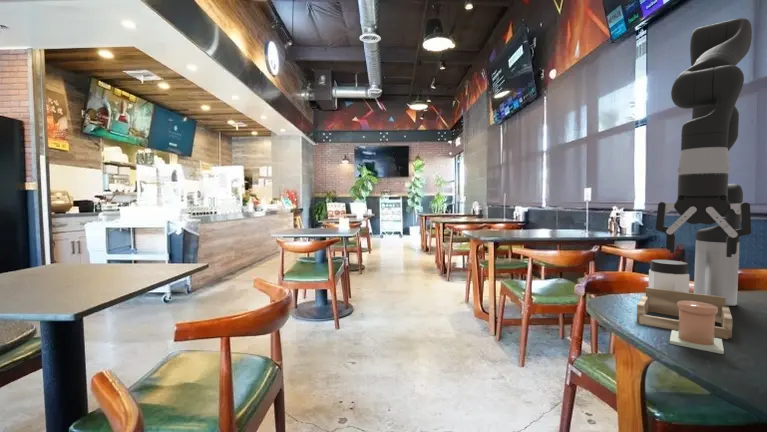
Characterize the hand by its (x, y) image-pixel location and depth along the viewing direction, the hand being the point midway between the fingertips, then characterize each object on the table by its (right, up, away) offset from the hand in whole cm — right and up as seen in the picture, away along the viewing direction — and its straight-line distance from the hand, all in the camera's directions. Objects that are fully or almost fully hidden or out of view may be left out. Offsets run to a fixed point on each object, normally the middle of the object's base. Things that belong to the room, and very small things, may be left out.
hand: (699, 254), depth 75 cm
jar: (+14, -17, +28) cm, 35 cm away
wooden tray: (+7, -17, +13) cm, 23 cm away
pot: (0, -17, +1) cm, 17 cm away
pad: (0, -18, +1) cm, 18 cm away
